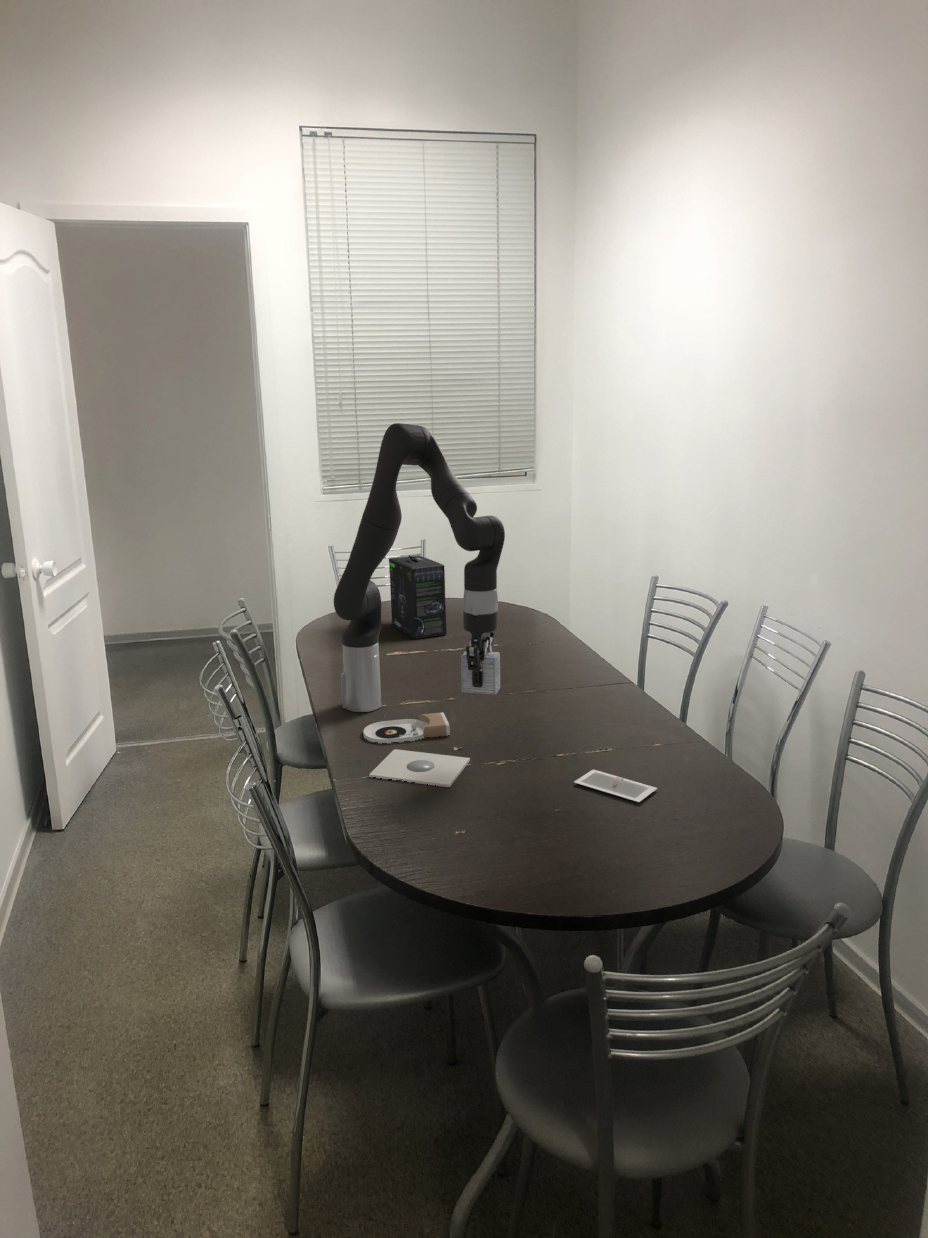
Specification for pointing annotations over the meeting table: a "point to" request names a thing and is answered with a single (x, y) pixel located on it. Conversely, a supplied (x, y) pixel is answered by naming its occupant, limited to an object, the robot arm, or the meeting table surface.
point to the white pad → (420, 767)
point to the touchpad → (616, 785)
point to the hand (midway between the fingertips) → (480, 682)
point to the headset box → (418, 596)
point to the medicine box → (489, 674)
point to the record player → (408, 729)
